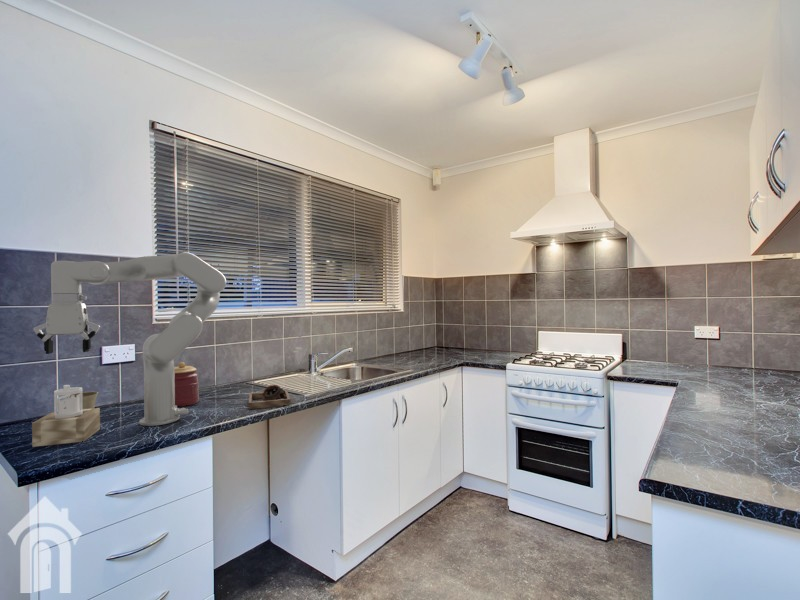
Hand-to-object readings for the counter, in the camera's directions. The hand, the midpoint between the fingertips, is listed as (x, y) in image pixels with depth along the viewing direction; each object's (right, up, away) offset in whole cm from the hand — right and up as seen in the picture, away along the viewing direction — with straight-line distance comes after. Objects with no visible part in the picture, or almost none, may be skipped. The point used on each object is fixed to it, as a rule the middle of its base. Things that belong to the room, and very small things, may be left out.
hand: (68, 352), depth 129 cm
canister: (+14, -27, +42) cm, 52 cm away
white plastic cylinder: (0, -26, 0) cm, 26 cm away
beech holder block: (0, -27, 0) cm, 27 cm away
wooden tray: (+51, -27, +42) cm, 71 cm away
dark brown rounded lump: (+53, -27, +43) cm, 73 cm away
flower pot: (-13, -28, +23) cm, 38 cm away
